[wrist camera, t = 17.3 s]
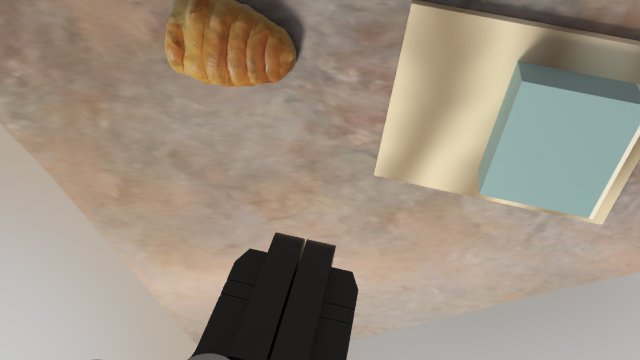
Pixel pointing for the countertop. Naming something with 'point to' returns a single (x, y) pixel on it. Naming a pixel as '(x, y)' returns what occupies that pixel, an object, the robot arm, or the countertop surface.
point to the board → (481, 92)
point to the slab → (560, 139)
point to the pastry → (226, 43)
